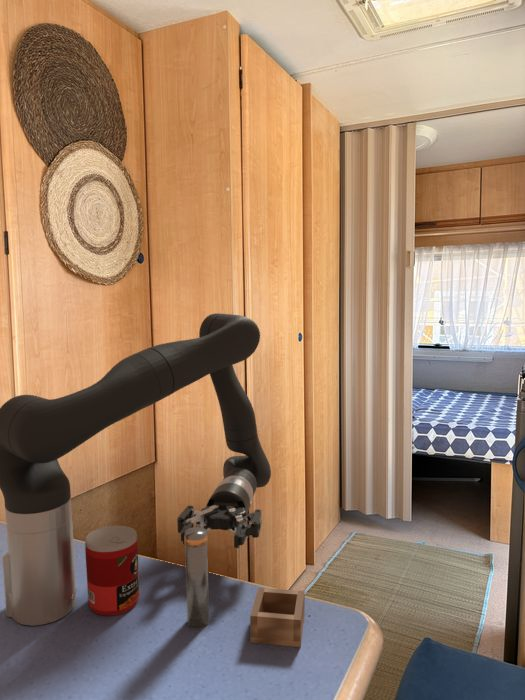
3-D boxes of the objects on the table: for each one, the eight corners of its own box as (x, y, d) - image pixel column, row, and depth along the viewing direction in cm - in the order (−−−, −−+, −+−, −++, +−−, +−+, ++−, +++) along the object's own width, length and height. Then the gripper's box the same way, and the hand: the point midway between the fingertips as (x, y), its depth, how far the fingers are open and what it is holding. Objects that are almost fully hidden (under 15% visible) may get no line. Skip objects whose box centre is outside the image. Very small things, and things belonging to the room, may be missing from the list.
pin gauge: (184, 627, 78) (181, 536, 76) (190, 613, 81) (188, 526, 79) (206, 629, 77) (203, 538, 75) (211, 615, 80) (209, 527, 79)
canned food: (127, 619, 80) (124, 550, 78) (78, 613, 81) (74, 545, 80) (147, 591, 87) (145, 527, 86) (103, 586, 89) (99, 523, 87)
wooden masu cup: (250, 642, 74) (250, 615, 74) (258, 612, 81) (258, 587, 81) (300, 647, 73) (300, 620, 73) (304, 616, 80) (304, 591, 80)
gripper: (194, 480, 103) (167, 516, 87) (267, 483, 100) (253, 521, 85) (195, 517, 104) (168, 559, 88) (268, 521, 101) (254, 566, 85)
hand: (210, 540), depth 86 cm, fingers open, 8 cm apart
